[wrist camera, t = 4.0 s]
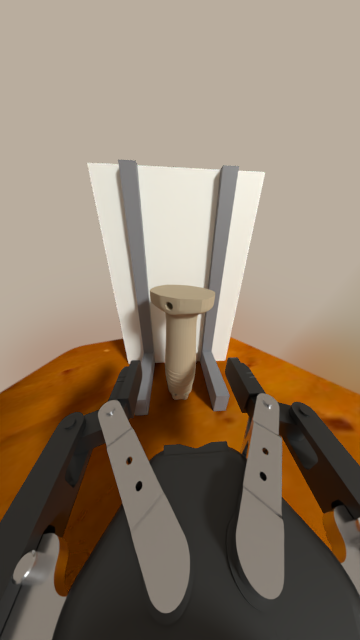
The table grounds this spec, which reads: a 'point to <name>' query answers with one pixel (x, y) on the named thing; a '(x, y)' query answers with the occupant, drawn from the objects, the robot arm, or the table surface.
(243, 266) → the rack
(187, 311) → the handle
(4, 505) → the table surface
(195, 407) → the table surface
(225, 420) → the table surface
